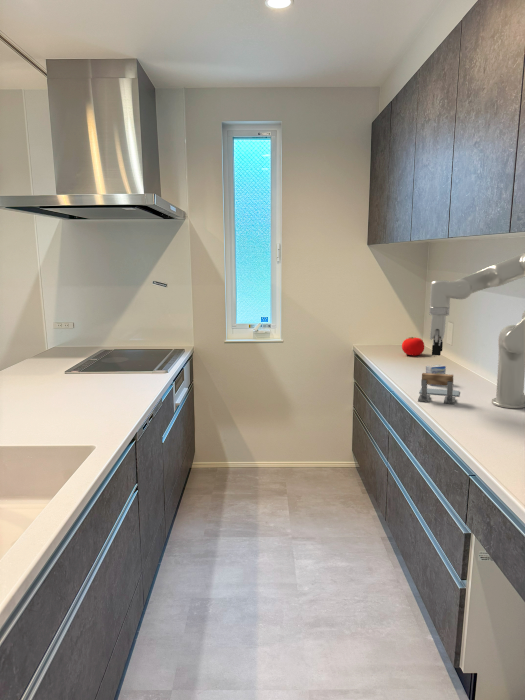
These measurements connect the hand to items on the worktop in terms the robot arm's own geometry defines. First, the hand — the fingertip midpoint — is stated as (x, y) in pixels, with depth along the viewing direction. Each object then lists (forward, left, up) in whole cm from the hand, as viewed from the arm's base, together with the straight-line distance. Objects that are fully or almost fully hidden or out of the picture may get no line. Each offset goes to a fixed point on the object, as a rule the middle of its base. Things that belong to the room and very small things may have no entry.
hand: (437, 353), depth 195 cm
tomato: (+22, -99, -20) cm, 103 cm away
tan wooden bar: (0, 0, -13) cm, 13 cm away
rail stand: (0, 0, -20) cm, 20 cm away
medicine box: (+3, -29, -20) cm, 36 cm away
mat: (0, -13, -20) cm, 24 cm away
